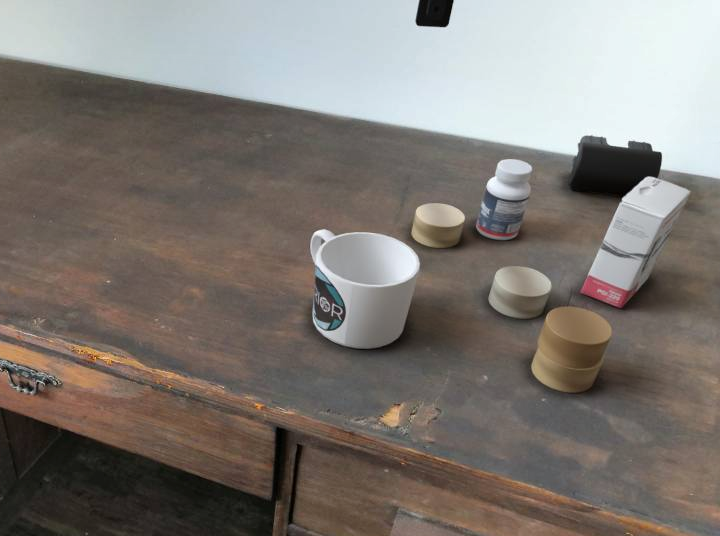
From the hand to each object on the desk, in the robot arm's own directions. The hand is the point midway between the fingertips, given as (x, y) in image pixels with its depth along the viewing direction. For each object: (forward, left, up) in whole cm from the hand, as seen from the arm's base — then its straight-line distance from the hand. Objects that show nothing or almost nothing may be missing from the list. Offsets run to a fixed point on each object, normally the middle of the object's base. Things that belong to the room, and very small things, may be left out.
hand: (424, 10), depth 80 cm
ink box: (-26, +9, -27) cm, 38 cm away
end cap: (-32, -15, -27) cm, 44 cm away
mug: (+5, +17, -27) cm, 32 cm away
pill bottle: (-15, -3, -27) cm, 31 cm away
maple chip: (-7, -1, -27) cm, 28 cm away
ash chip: (-14, +13, -27) cm, 33 cm away
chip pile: (-16, +25, -27) cm, 40 cm away
